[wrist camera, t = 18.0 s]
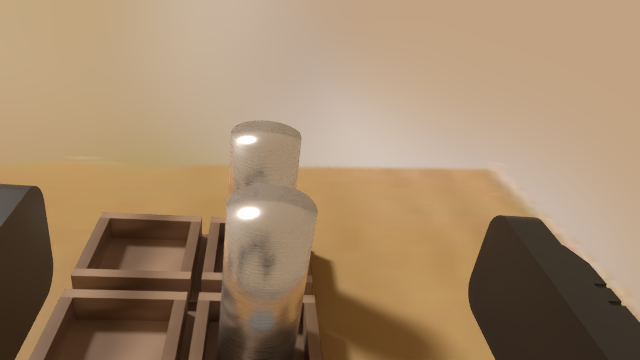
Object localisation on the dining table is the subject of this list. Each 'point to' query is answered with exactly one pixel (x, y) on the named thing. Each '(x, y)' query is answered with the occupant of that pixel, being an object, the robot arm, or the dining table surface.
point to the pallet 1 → (155, 255)
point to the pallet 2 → (148, 327)
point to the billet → (263, 155)
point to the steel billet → (264, 271)
